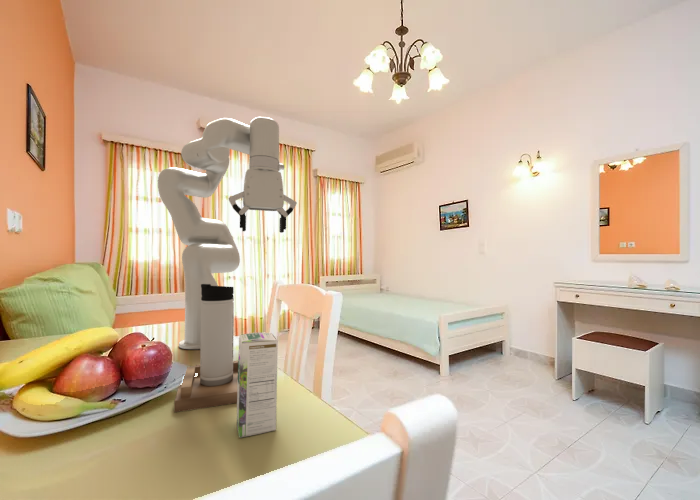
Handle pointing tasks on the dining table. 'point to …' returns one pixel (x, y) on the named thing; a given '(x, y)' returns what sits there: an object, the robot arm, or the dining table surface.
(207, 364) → the travel mug
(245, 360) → the syrup box
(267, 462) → the dining table surface
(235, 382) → the stand
